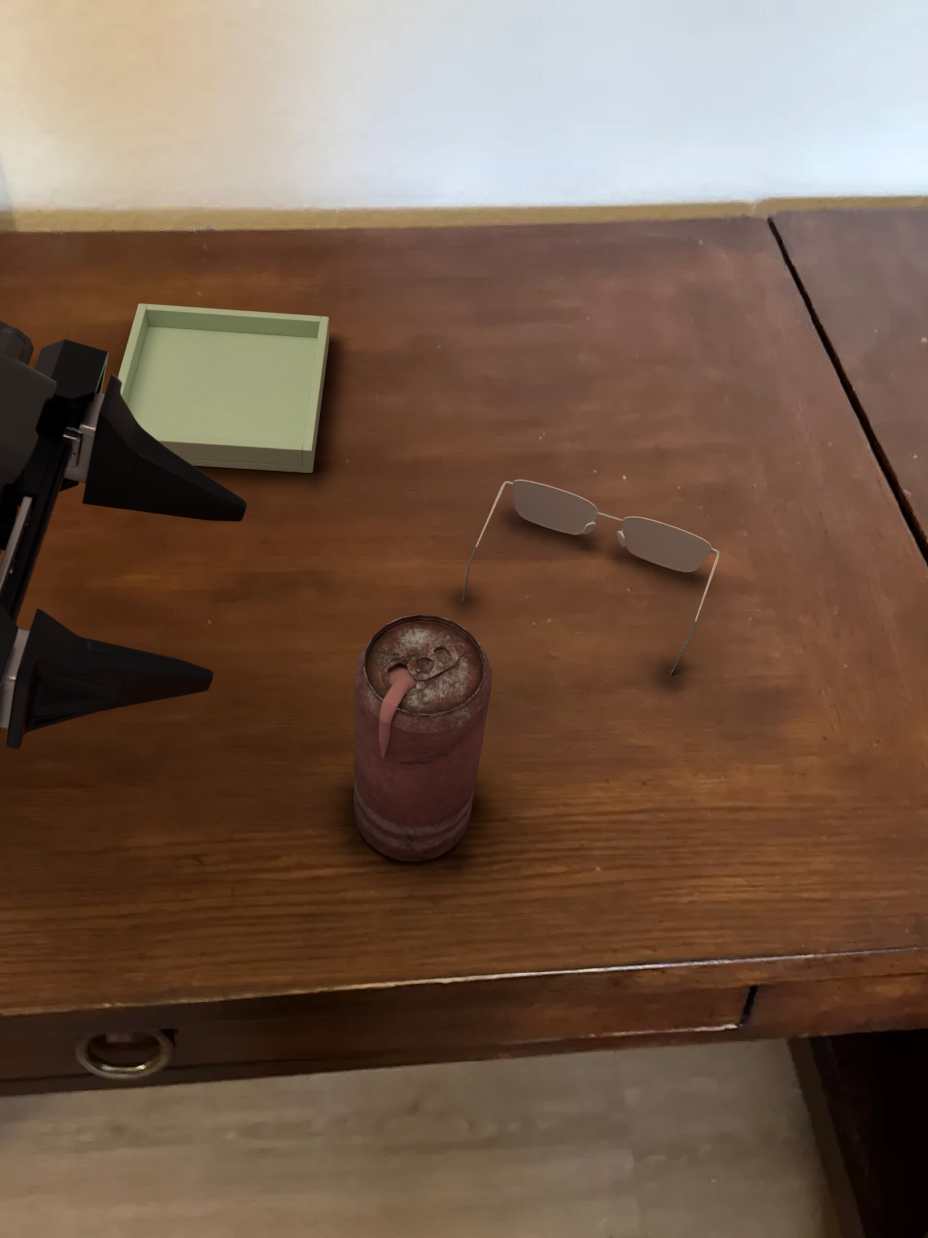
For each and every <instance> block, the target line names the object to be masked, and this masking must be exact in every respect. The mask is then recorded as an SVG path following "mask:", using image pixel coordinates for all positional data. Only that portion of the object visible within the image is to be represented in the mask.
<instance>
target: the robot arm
mask: <svg viewBox="0 0 928 1238" xmlns="http://www.w3.org/2000/svg"><path fill="white" fill-rule="evenodd" d="M34 351H35V348H34V345H33V342H32V341H31V338H30V337H29V336H28V335H27V334H25V333H24V332H23V331H22V330H20V329H19V328H17V327H15V326H11V325H9V324H7V323H5V322H3V321H2V320H0V556H1V555H2V552H4V553H3V556H2V558H1V562H0V733H1V730H2V729H4V730H7V736H6V743H5V748H7V749H12V750H19V749H21V746H22V743H23V740H24V737H25V735H27V733H30V732H32V731H36V730H40V729H43V728H46V727H50V726H53V725H57V724H61V723H63V722H67V721H71V720H74V719H78V718H81V717H86V716H88V715H92V714H95V713H99V712H104V711H109V710H114V709H118V708H125V707H130V706H135V705H136V706H137V705H140V704H147V703H151V702H156V701H162V700H167V699H173V698H179V697H183V696H188V695H193V694H200V693H204V692H207V691H208V690H210V687H211V685H212V682H213V678H214V671H213V670H211V669H210V668H206V667H204V666H201V665H198V664H194V663H192V662H189V661H187V660H183V659H180V658H176V657H174V656H173V657H172V656H168V655H163V654H160V653H159V654H158V653H155V652H150V651H146V650H141V649H138V648H132V647H127V646H124V645H118V644H114V643H111V642H106V641H101V640H96V639H92V638H88V637H84V636H80V635H78V634H77V633H75V632H73V631H72V630H71V629H69V628H68V627H66V626H65V625H64V624H62V623H61V622H59V621H58V620H57V619H55V618H54V617H53V616H51V615H50V614H48V613H47V612H45V611H44V610H43V609H40V608H36V610H35V613H34V616H33V620H32V623H31V626H30V629H25V628H20V627H19V626H18V625H17V622H18V619H19V616H20V613H21V610H22V607H23V604H24V600H25V597H26V595H27V592H28V589H29V586H30V583H31V579H32V576H33V573H34V570H35V567H36V565H37V561H38V558H39V555H40V551H41V548H42V546H43V542H44V539H45V537H46V533H47V530H48V527H49V524H50V521H51V518H52V515H53V512H54V509H55V505H56V503H57V500H58V497H59V495H60V493H61V492H63V491H66V490H69V489H72V488H75V487H77V486H79V484H80V483H83V484H85V486H84V490H83V496H82V501H81V502H82V504H84V505H87V506H88V505H89V506H95V507H104V508H110V509H111V508H112V509H118V510H126V511H135V512H140V513H141V512H142V513H149V514H158V515H162V516H170V517H178V518H185V519H191V520H192V519H193V520H200V521H210V522H233V523H235V522H236V523H239V522H242V521H243V519H244V516H245V514H246V510H247V506H248V505H247V501H246V500H245V499H244V498H243V497H241V496H239V495H238V494H236V493H235V492H234V491H232V490H230V489H229V488H227V487H225V486H224V485H223V484H221V483H219V482H218V481H217V480H216V479H214V478H212V477H211V476H209V475H208V474H207V473H205V472H204V471H201V470H200V469H199V468H197V466H193V465H191V464H190V463H188V462H187V461H185V460H184V459H182V458H181V457H179V456H178V455H176V454H175V453H174V452H172V451H171V450H169V449H168V448H167V447H165V446H164V445H163V444H161V443H160V442H159V441H158V440H156V439H155V438H154V437H153V436H151V435H150V434H149V433H148V432H146V431H145V430H144V429H143V428H142V427H141V426H140V425H139V424H138V422H137V421H136V419H135V418H134V416H133V414H132V413H131V411H130V409H129V408H128V406H127V404H126V403H125V401H124V399H123V398H122V396H121V388H122V382H121V381H120V380H119V378H118V375H115V374H114V373H111V374H110V378H109V380H108V383H107V386H106V389H105V393H103V387H104V382H105V376H106V371H107V365H108V359H109V356H110V355H109V354H110V351H107V350H103V349H99V348H96V347H93V346H90V345H88V344H83V343H79V342H76V341H73V340H70V339H66V338H64V339H62V340H59V341H57V342H54V343H51V344H49V345H46V346H43V347H41V349H40V351H39V354H38V357H37V359H36V361H35V364H34V367H31V366H29V364H30V361H31V359H32V356H33V355H34Z"/></svg>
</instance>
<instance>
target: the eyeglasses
mask: <svg viewBox="0 0 928 1238" xmlns="http://www.w3.org/2000/svg"><path fill="white" fill-rule="evenodd" d="M506 486H508V487H511V497H512V502H513V506H514V509H515V511H516V513H517V514H518V515H519V516H520V517H521V518H523V519H524V520H525V521H528V522H530V523H533V524H535V525H538V526H541V527H543V528H547V529H550V530H553V531H556V532H560V533H564V534H569V535H573V536H579V535H582V534H583V535H587V534H590V533H592V532H594V530H595V528H596V527H597V524H596V521H597V520H598V517H599V516H602V517H605V518H608V519H611V520H615V521H617V522H620V530H618V531H616V536H617V537H616V538H617V541H618V543H619V545H620V546H621V547H622V548H626V550H627V551H628V552H629V553H630V554H632V555H634V556H636V557H638V558H640V559H643V560H645V561H647V562H650V563H652V564H655V565H658V566H661V567H663V568H667V569H669V570H670V569H671V570H672V571H673V570H674V571H677V572H682V573H693V572H695V571H697V570H698V569H700V568H701V567H702V565H703V564H704V563H705V562H706V561H707V560H708V558H709V556H710V554H711V553H712V554H714V555H715V559H714V562H713V565H712V569H711V570H710V574H709V577H708V580H707V583H706V587H705V589H704V592H703V595H702V598H701V601H700V605H699V608H698V611H697V613H696V617H695V620H694V621H693V624H692V626H691V629H690V631H689V633H688V636H687V638H686V640H685V643H684V644H683V647H682V648H681V651H680V652H679V654H678V656H677V658H676V660H675V662H674V665H673V666H672V669H671V671H670V675H672V674H673V673H674V671H675V668H676V666H677V664H678V662H679V660H680V658H681V657H682V655H683V653H684V651H685V649H686V646H688V643H689V642H690V639H691V637H692V634H693V633H694V630H695V627H696V625H697V620H698V617H699V614H700V612H701V609H702V607H703V604H704V601H705V599H706V595H707V593H708V590H709V587H710V584H711V581H712V579H713V576H714V573H715V570H716V567H717V564H718V562H719V559H720V551H719V550H718V549H715V548H713V547H712V545H711V543H710V542H709V541H708V540H706V539H704V538H702V537H701V536H698V535H696V534H694V533H692V532H690V531H687V530H684V529H682V528H679V527H677V526H673V525H671V524H668V523H664V522H662V521H658V520H655V519H651V518H647V517H642V516H637V515H636V516H635V515H632V516H626V517H624V518H623V519H622V518H619V517H616V516H612V515H610V514H607V513H603V512H599V509H598V508H597V506H596V505H595V504H594V503H593V502H591V501H590V500H588V499H586V498H584V497H582V496H579V495H577V494H575V493H573V492H570V491H567V490H565V489H561V488H558V487H554V486H552V485H548V484H545V483H540V482H537V481H533V480H527V479H515V480H513V482H512V481H510V480H509V481H508V480H506V481H504V482H503V484H502V485H501V487H500V488H499V491H498V493H497V496H496V498H495V500H494V503H493V505H492V507H491V510H490V512H489V515H488V517H487V519H486V521H485V524H484V526H483V528H482V530H481V533H480V536H479V538H478V540H477V542H476V545H475V546H474V548H473V550H472V553H471V557H470V558H469V561H468V564H467V568H466V574H465V581H464V587H463V594H462V599H461V602H462V603H463V602H464V601H465V598H466V595H467V594H466V593H467V586H468V581H469V580H468V579H469V573H470V569H471V565H472V562H473V560H474V557H475V554H476V552H477V550H478V546H479V544H480V542H481V539H482V538H483V535H484V533H485V530H486V528H487V526H488V524H489V522H490V520H491V518H492V515H493V514H494V512H495V509H496V507H497V505H498V502H499V500H500V499H501V496H502V494H503V491H504V489H505V487H506Z"/></svg>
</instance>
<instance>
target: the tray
mask: <svg viewBox="0 0 928 1238" xmlns="http://www.w3.org/2000/svg"><path fill="white" fill-rule="evenodd" d="M329 345H330V317H329V316H324V315H321V316H319V315H309V314H307V315H306V314H297V313H296V314H294V313H282V312H281V313H280V312H266V311H251V310H237V309H224V308H211V307H209V308H208V307H198V306H197V307H195V306H183V305H182V306H180V305H170V304H169V305H168V304H167V305H166V304H155V303H152V304H151V303H138V305H137V309H136V312H135V315H134V319H133V322H132V325H131V329H130V332H129V337H128V340H127V344H126V347H125V351H124V353H123V354H124V355H123V358H122V361H121V365H120V368H119V372H118V375H117V377H118V378H119V380H120V381H121V382H122V388H121V396H122V398H123V399H124V401H125V403H126V404H127V406H128V408H129V409H130V411H131V413H132V414H133V416H134V418H135V419H136V421H137V422H138V424H139V425H140V426H141V427H142V428H143V429H144V430H145V431H146V432H148V433H149V434H150V435H151V436H153V437H154V438H155V439H156V440H158V441H159V442H160V443H161V444H163V445H164V446H165V447H167V448H168V449H169V450H171V451H172V452H174V453H175V454H176V455H178V456H179V457H181V458H182V459H184V460H185V461H187V462H188V463H190V464H191V465H193V466H194V467H207V468H208V467H211V468H225V469H226V468H227V469H241V470H242V469H243V470H257V471H271V472H288V473H304V474H305V473H306V474H312V473H314V465H315V456H316V448H317V441H318V434H319V433H318V432H319V425H320V424H319V423H320V415H321V408H322V401H323V392H324V386H325V385H324V384H325V379H326V378H325V377H326V370H327V369H326V368H327V361H328V352H329Z"/></svg>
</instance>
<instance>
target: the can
mask: <svg viewBox="0 0 928 1238" xmlns="http://www.w3.org/2000/svg"><path fill="white" fill-rule="evenodd" d="M355 663H356V664H355V670H354V671H355V672H354V700H353V701H354V702H353V703H354V708H353V710H354V713H353V715H354V716H353V719H354V721H353V722H354V724H353V726H354V727H353V732H354V733H353V735H354V737H353V750H354V751H353V758H354V759H353V813H354V818H355V822H356V827H357V830H358V831H359V832H360V834H361V836H362V837H363V838H364V840H365V841H366V843H367V844H369V845H370V846H371V847H372V848H373V849H375V850H376V851H377V852H378V853H380V854H381V855H383V856H387V857H388V858H392V859H394V860H397V861H402V862H403V861H404V862H414V863H415V862H416V863H418V862H423V861H427V860H433V859H436V858H438V857H439V856H441V855H443V854H445V853H447V852H449V851H451V850H452V849H453V848H454V847H455V846H456V845H457V844H458V843H459V841H460V840H461V839H462V838H463V837H464V835H465V833H466V830H467V828H468V826H469V824H470V820H471V814H472V807H473V801H474V794H475V790H476V784H477V778H478V771H479V766H480V759H481V754H482V747H483V742H484V735H485V729H486V722H487V717H488V711H489V704H490V698H491V694H492V693H491V692H492V683H493V681H492V680H493V670H492V667H491V664H490V661H489V657H488V656H487V654H486V652H485V651H484V650H483V647H482V645H481V643H480V642H479V640H477V638H476V637H475V636H474V634H473V633H472V632H471V631H470V630H469V629H467V628H466V627H464V626H463V625H461V624H460V623H458V622H457V621H455V620H452V619H450V618H446V617H444V616H440V615H437V614H427V613H426V614H425V613H417V614H411V615H405V616H401V617H398V618H396V619H394V620H391V621H390V622H388V623H385V624H384V625H382V627H380V628H379V630H377V631H376V632H375V633H374V634H373V635H372V636H371V638H370V639H369V640H368V641H367V642H366V643H365V644H364V646H363V648H362V650H361V651H360V653H359V655H358V657H357V659H356V662H355Z"/></svg>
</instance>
